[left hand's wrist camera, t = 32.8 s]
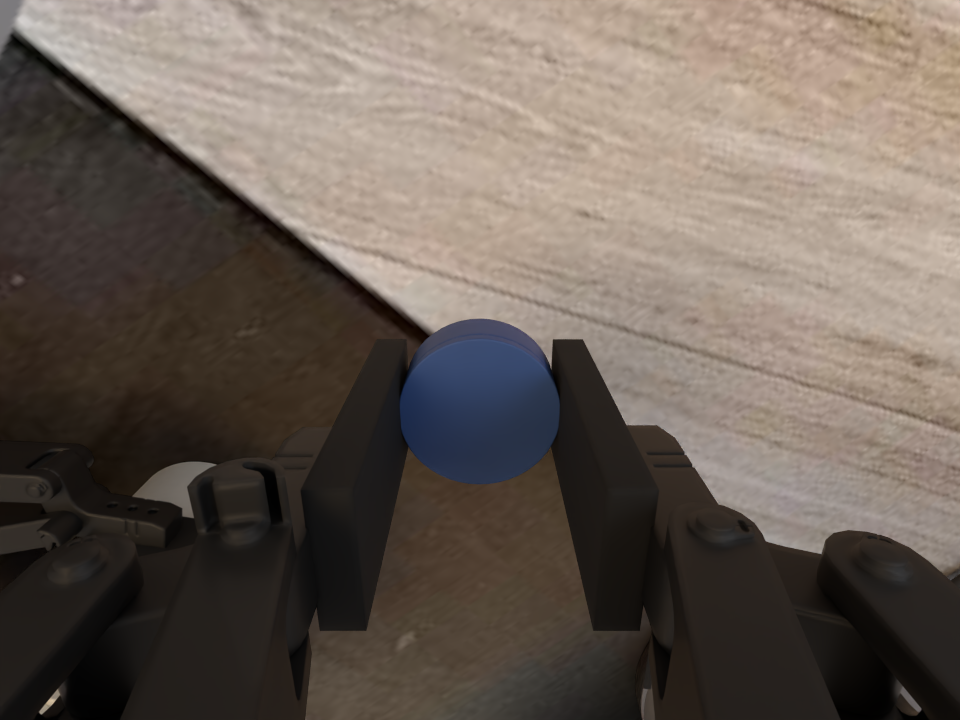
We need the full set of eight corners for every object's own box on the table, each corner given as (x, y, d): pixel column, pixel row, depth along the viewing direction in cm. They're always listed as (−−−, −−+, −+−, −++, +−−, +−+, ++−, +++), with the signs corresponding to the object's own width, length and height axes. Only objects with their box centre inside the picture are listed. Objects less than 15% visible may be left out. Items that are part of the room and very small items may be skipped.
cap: (381, 411, 15) (370, 440, 13) (451, 289, 14) (448, 307, 12) (503, 473, 15) (506, 508, 14) (581, 363, 14) (593, 389, 13)
